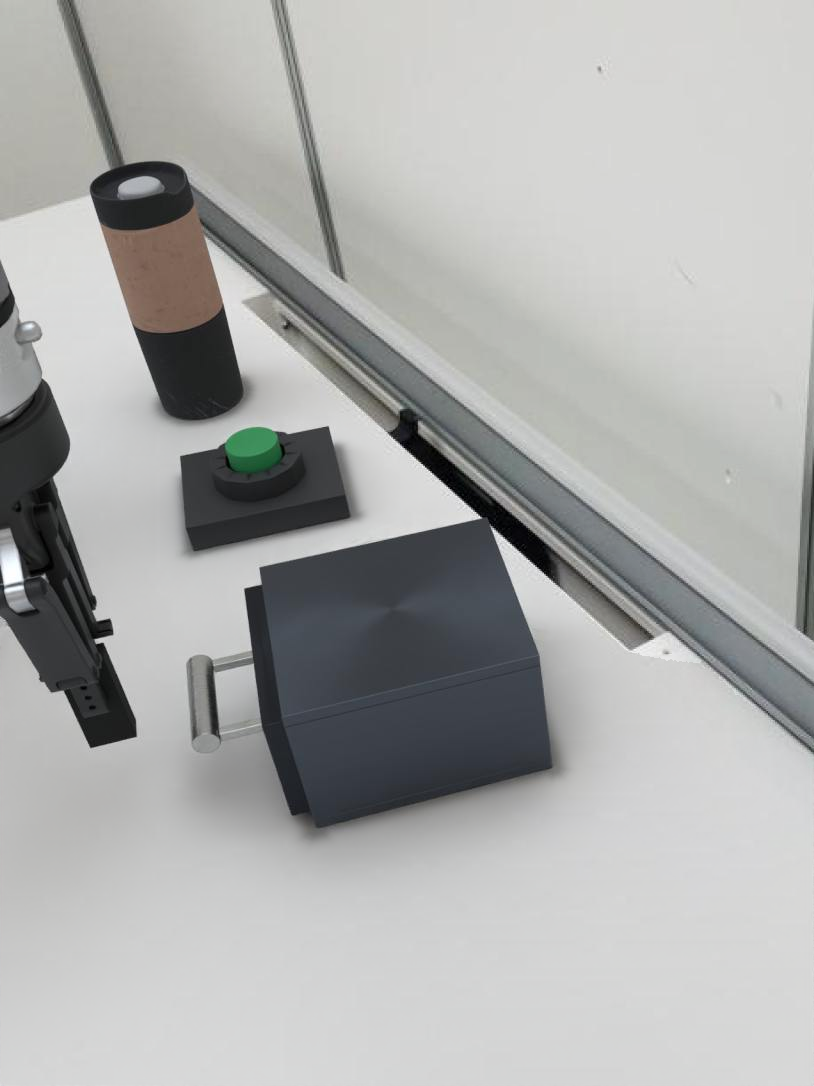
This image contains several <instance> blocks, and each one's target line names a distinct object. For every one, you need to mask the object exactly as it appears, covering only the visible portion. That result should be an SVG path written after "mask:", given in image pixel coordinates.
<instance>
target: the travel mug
mask: <svg viewBox="0 0 814 1086" xmlns="http://www.w3.org/2000/svg"><path fill="white" fill-rule="evenodd" d="M89 195H90V198H91V201H92V204H93V206H94V207H93V208H94V210H95V214H96V217H97V219H98V223H99V225H100V228H101V232H102V236H103V238H104V242H105V245H106V248H107V250H108V255H109V257H110V260H111V263H112V267H113V270H114V273H115V276H116V279H117V282H118V285H119V288H120V291H121V294H122V297H123V300H124V304H125V307H126V310H127V313H128V316H129V320H130V322H131V325H132V328H133V331H134V334H135V336H136V339H137V341H138V344H139V347H140V349H141V352H142V355H143V358H144V361H145V363H146V366H147V369H148V372H149V374H150V378H151V379H152V382H153V385H154V388H155V390H156V393H157V395H158V398H159V400H160V403H161V406H162V408H163V410H164V411H165V412H166V413H167V414H168V415H169V416H171V417H173V418H176V419H181V420H186V421H187V420H188V421H193V420H194V421H195V420H196V421H197V420H204V419H208V418H212V417H216V416H219V415H221V414H224V413H225V412H228V411H229V410H231V409H233V408H234V407H235V406H236V405H237V404H238V403H239V402H240V401H241V400H242V399H243V395H244V385H243V380H242V376H241V371H240V367H239V363H238V358H237V354H236V350H235V346H234V342H233V337H232V333H231V329H230V325H229V320H228V316H227V312H226V309H225V304H224V301H223V296H222V293H221V289H220V286H219V282H218V279H217V275H216V271H215V268H214V265H213V262H212V257H211V255H210V251H209V248H208V244H207V239H206V237H205V234H204V230H203V226H202V223H201V220H200V219H201V218H200V216H199V213H198V209H197V206H196V202H195V198H194V195H193V192H192V189H191V183H190V182H189V178H188V175H187V172H186V170H185V169H184V167H182V166H181V165H180V164H177V163H174V162H171V161H164V160H148V161H147V160H146V161H138V162H133V163H128V164H123V165H120V166H116V167H114V168H111V169H109V170H107V171H105V172H103V173H101V174H99V175H98V176H97V177H95V178H94V179H93V180H92V181H91V183H90V185H89Z"/></svg>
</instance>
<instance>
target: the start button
mask: <svg viewBox="0 0 814 1086" xmlns="http://www.w3.org/2000/svg"><path fill="white" fill-rule="evenodd" d="M274 431H275V430H274V429H271V428H269V427H265V426H264V427H263V426H262V427H261V426H253V427H248V428H244V429H241V430H238V431H237V432H235V433H232V435H230V436H229V437H228V438H227V439H226V441H225V442H226V444H225V449H226V452H227V456H228V459H229V462H230V466H231V468H232V469H233V470H234V471H235V472H240V473H255V472H260V471H264V470H268V469H269V468H271V467H273V466H275V465H277V464H278V463H279V462H280V461H281V459H282V452H281V448H280V444H279V440H278V437H277V434H276V433H275V432H274Z"/></svg>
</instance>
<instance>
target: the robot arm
mask: <svg viewBox="0 0 814 1086" xmlns="http://www.w3.org/2000/svg"><path fill="white" fill-rule="evenodd" d="M10 284H11V283H10V282H9V279H8V276H7V273H6V271H5V268H4V266H3V262H2V260H1V259H0V617H1V618H2V619H3V620H5V622H6V624H7V626H8V627H9V629H10V630H11V632H12V633H13V635H14V637H15V638H16V640H17V641H18V643H19V645H20V646H21V648H22V649H23V651H24V653H25V654H26V656H27V657H28V659H29V661H30V662H31V664H32V666H33V667H34V669H35V670H36V672H37V673H38V676H39V677H38V680H39V682H40V683H44V685H45V687H46V688H47V689H48V691H49V692H50V693H51V694H53V693H54V694H55V693H58V692H63V693H64V695H65V697H66V699H67V702H68V703H69V706H70V708H71V710H72V712H73V714H74V716H75V719H76V721H77V723H78V725H79V728H80V730H81V731H82V734H83V736H84V738H85V740H86V742H87V744H88V746H89V748H90V749H93V748H97V747H102V746H106V745H109V744H114V743H118V742H122V741H126V740H130V739H134V738H137V737H138V734H137V733H138V730H137V729H138V728H137V719H136V716H135V713H134V712H133V709H132V706H131V704H130V701H129V699H128V697H127V695H126V692H125V690H124V688H123V687H124V686H123V685H122V682H121V680H120V678H119V676H118V673H117V671H116V668H115V666H114V663H113V661H112V659H111V656H110V654H109V652H108V649H107V647H106V644H105V643H104V641H103V642H100V643H97V642H96V640H98V639H102V638H107V637H111V636H114V635H115V631H114V625H113V622H112V619H111V618H105V619H100V620H97V618H96V616H95V614H94V611H96V610H97V603H98V601H97V598H96V595H95V594H94V593H93V590H92V587H91V585H90V582H89V579H88V577H87V576H88V575H87V573H86V571H85V568H84V565H83V562H82V559H81V556H80V553H79V550H78V547H77V544H76V541H75V539H74V535H73V533H72V530H71V527H70V524H69V522H68V518H67V515H66V513H65V510H64V507H63V504H62V501H61V498H60V496H59V490H58V487H57V485H56V482H55V479H54V477H55V476H56V475H57V474H58V473H59V472H60V470H61V469H62V468H63V467H64V465H65V463H66V462H67V459H68V457H69V454H70V451H71V439H70V434H69V432H68V429H67V427H66V425H65V422H64V419H63V416H62V414H61V411H60V409H59V406H58V404H57V401H56V399H55V396H54V394H53V391H52V389H51V388H52V387H51V386H50V384H49V383H48V382H47V381H46V380H45V379H44V378H43V369H42V367H41V364H40V361H39V359H38V355H37V354H36V353H37V352H36V350H35V347H34V344H33V343H36V342H38V341H40V340H41V338H42V337H43V332H42V327H41V326H40V324H38V322H37V321H36V320H27V321H21V319H20V309H19V307H18V304H17V302H16V298H15V295H14V292H13V291H12V290H13V289H12V287H11V285H10Z"/></svg>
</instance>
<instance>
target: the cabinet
mask: <svg viewBox="0 0 814 1086" xmlns="http://www.w3.org/2000/svg"><path fill="white" fill-rule="evenodd" d="M258 570H259V576H260V582H261V583H260V584H261V585H262V590H263V597H264V604H265V611H266V618H267V624H268V631H269V638H270V645H271V652H272V659H273V665H274V672H275V679H276V686H277V693H278V700H279V706H280V713H281V719H282V722H283V725H284V728H285V731H286V735H287V738H288V741H289V744H290V747H291V750H292V754H293V757H294V760H295V763H296V766H297V769H298V772H299V776H300V779H301V782H302V785H303V788H304V791H305V795H306V798H307V801H308V804H309V807H310V810H311V811H310V813H311V816H312V819H313V823H314V826H315V828H318V829H319V828H322V827H326V826H330V825H333V824H337V823H341V822H345V821H349V820H353V819H358V818H361V817H364V816H368V815H372V814H377V813H380V812H384V811H388V810H392V809H395V808H399V807H404V806H407V805H410V804H414V803H418V802H422V801H426V800H431V799H434V798H438V797H441V796H446V795H449V794H453V793H457V792H458V793H459V792H461V791H465V790H469V789H473V788H476V787H482V786H484V785H485V786H486V785H489V784H493V783H496V782H500V781H504V780H508V779H512V778H515V777H519V776H524V775H527V774H528V775H529V774H532V773H536V772H538V771H543V770H546V769H550V768H553V759H552V750H551V743H550V742H551V741H550V733H549V724H548V715H547V706H546V700H545V692H544V683H543V674H542V673H543V672H542V665H541V656H540V653H539V651H538V647H537V645H536V641H535V639H534V637H533V634H532V631H531V629H530V627H529V623H528V621H527V618H526V616H525V613H524V611H523V608H522V605H521V603H520V600H519V598H518V595H517V592H516V590H515V587H514V585H513V582H512V579H511V576H510V573H509V571H508V569H507V566H506V563H505V561H504V558H503V555H502V553H501V550H500V547H499V545H498V542H497V539H496V537H495V534H494V532H493V529H492V526H491V524H490V521H489V519H488V517H482V518H476V519H472V520H468V521H463V522H458V523H453V524H449V525H446V526H441V527H436V528H431V529H427V530H423V531H418V532H414V533H409V534H405V535H399V536H396V537H391V538H386V539H382V540H377V541H372V542H369V543H363V544H360V545H359V544H358V545H355V546H354V545H353V546H349V547H345V548H341V549H336V550H331V551H326V552H323V553H318V554H314V555H308V556H305V557H300V558H296V559H290V560H286V561H281V562H277V563H273V564H272V563H271V564H267V565H264V566H260V567H259V568H258Z"/></svg>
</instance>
